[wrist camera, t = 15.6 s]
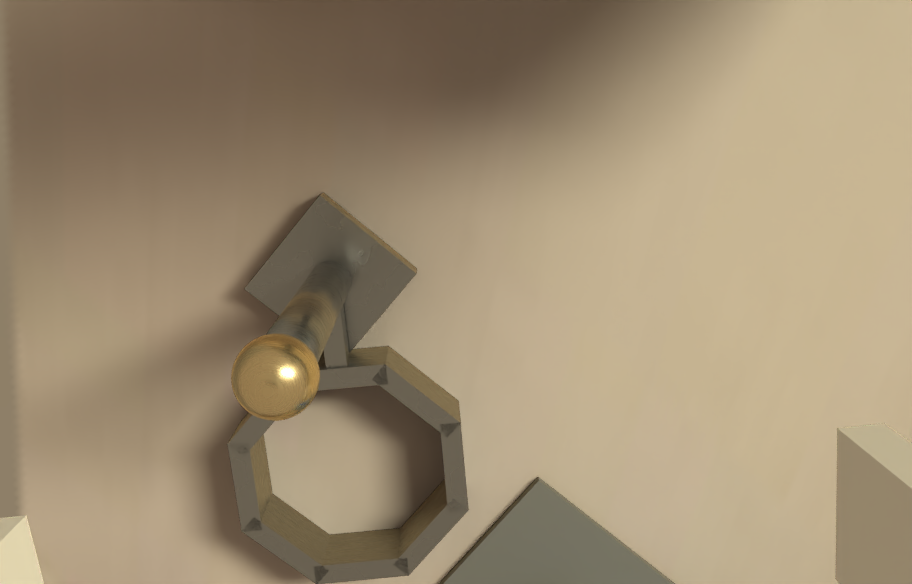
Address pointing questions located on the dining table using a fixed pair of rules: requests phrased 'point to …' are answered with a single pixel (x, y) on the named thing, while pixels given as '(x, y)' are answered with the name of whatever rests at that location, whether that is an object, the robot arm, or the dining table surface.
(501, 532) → the rubber mat
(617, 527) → the dining table surface
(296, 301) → the ring stand
